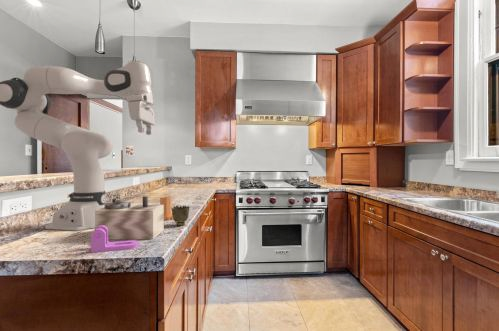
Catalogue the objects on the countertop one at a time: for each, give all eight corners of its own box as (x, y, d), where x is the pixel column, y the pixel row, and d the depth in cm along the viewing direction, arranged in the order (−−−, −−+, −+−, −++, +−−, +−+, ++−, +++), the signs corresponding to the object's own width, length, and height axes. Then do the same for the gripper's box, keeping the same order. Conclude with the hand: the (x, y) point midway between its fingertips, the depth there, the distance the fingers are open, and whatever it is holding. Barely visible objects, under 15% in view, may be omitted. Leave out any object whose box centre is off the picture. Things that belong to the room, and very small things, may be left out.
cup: (184, 228, 112) (184, 208, 112) (168, 226, 113) (168, 207, 113) (192, 223, 119) (192, 205, 119) (176, 223, 121) (176, 204, 121)
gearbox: (94, 239, 95) (94, 198, 95) (112, 229, 108) (112, 194, 108) (153, 239, 96) (153, 199, 96) (163, 229, 109) (163, 194, 108)
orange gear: (153, 220, 125) (153, 198, 125) (159, 216, 134) (159, 196, 134) (172, 220, 126) (173, 198, 126) (177, 216, 135) (177, 196, 135)
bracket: (91, 253, 81) (91, 229, 81) (95, 247, 87) (95, 225, 86) (138, 249, 86) (138, 226, 85) (139, 243, 91) (139, 223, 91)
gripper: (143, 106, 125) (146, 136, 126) (124, 95, 105) (127, 131, 105) (157, 105, 126) (160, 135, 126) (140, 94, 105) (144, 130, 105)
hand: (145, 133), depth 115 cm, fingers open, 8 cm apart
